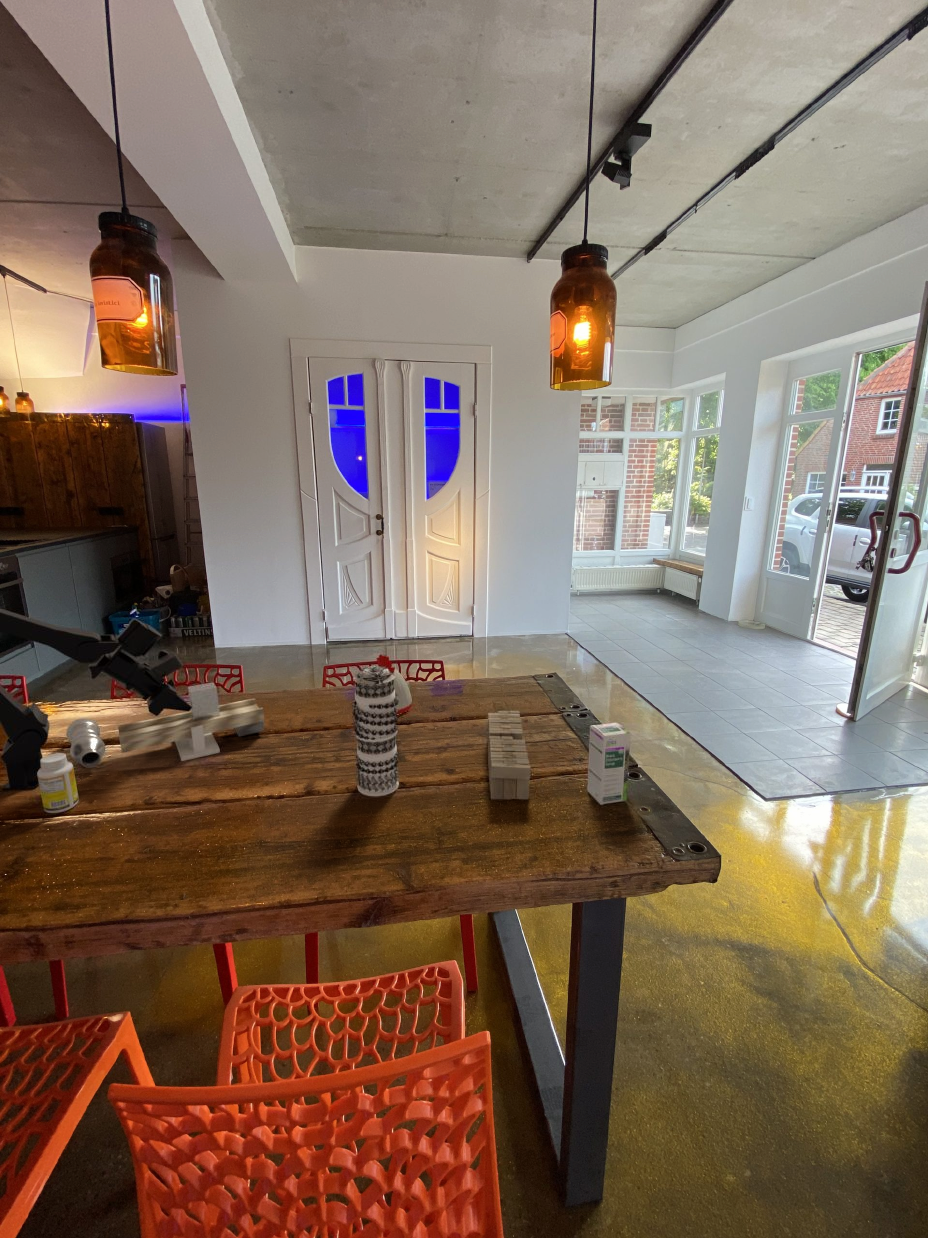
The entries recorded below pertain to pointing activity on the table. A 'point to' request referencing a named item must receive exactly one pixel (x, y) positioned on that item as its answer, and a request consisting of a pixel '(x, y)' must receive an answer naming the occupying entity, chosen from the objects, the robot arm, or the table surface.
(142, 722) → the balance beam
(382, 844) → the table surface
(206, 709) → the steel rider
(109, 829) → the table surface
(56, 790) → the supplement bottle
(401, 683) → the kitchen timer
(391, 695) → the white patterned cylinder
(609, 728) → the syrup box
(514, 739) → the block tower
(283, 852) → the table surface
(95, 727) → the silver metal bottle
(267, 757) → the table surface
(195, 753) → the beam stand
